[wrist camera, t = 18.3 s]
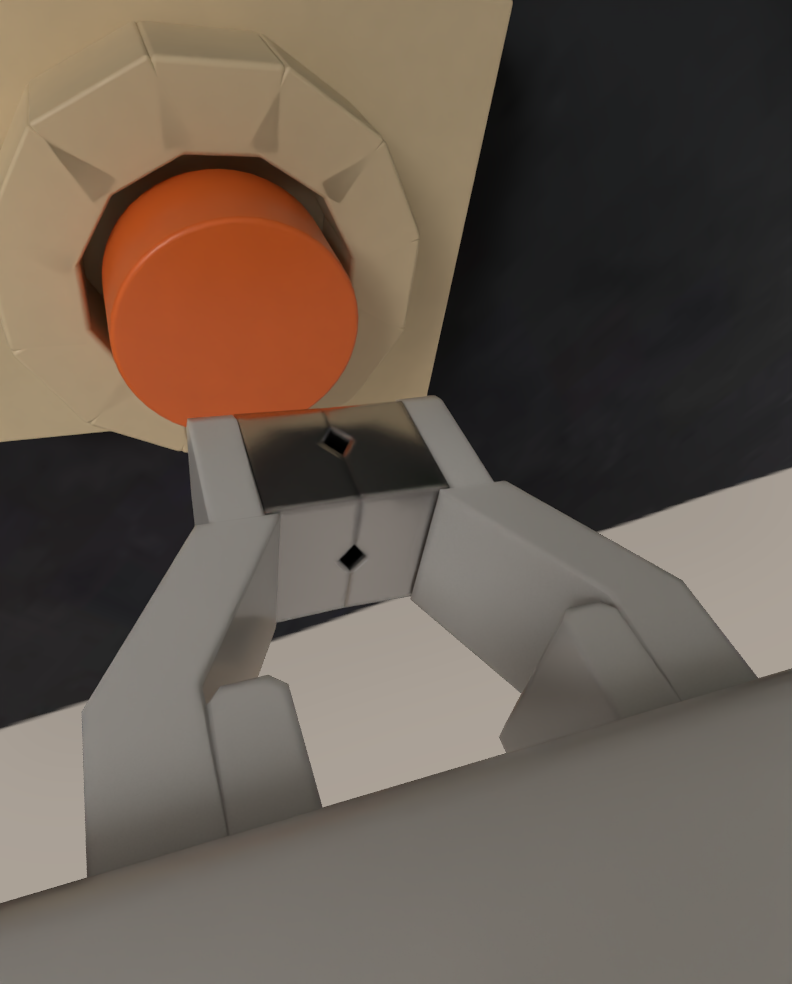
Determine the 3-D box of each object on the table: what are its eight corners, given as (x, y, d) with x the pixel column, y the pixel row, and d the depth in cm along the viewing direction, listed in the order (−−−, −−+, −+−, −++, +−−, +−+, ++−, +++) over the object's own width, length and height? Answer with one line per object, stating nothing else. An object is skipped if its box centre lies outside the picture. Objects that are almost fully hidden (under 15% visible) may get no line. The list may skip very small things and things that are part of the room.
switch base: (460, -28, 12) (571, 27, 10) (395, 350, 18) (456, 449, 15) (-221, -121, 9) (-324, -77, 6) (-45, 381, 14) (-63, 515, 12)
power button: (337, 170, 11) (374, 218, 9) (320, 366, 13) (348, 423, 12) (83, 162, 9) (90, 217, 8) (117, 382, 12) (126, 448, 11)
